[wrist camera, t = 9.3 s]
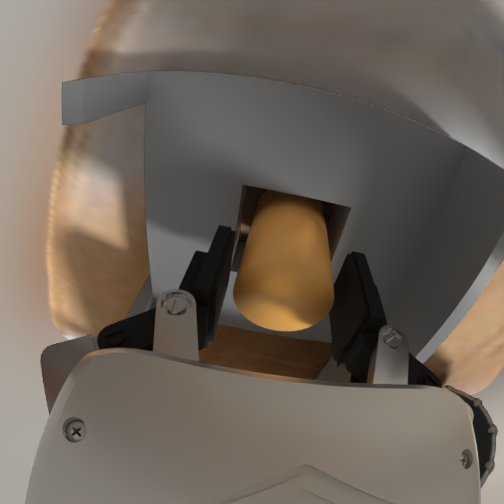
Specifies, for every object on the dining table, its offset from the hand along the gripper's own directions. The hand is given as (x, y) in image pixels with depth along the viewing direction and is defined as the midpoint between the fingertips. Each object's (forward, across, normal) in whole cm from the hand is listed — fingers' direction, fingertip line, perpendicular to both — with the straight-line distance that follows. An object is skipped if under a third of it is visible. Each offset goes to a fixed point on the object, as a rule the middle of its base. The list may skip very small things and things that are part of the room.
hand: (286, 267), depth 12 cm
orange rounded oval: (+5, 0, 0) cm, 5 cm away
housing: (+5, 0, +8) cm, 9 cm away
